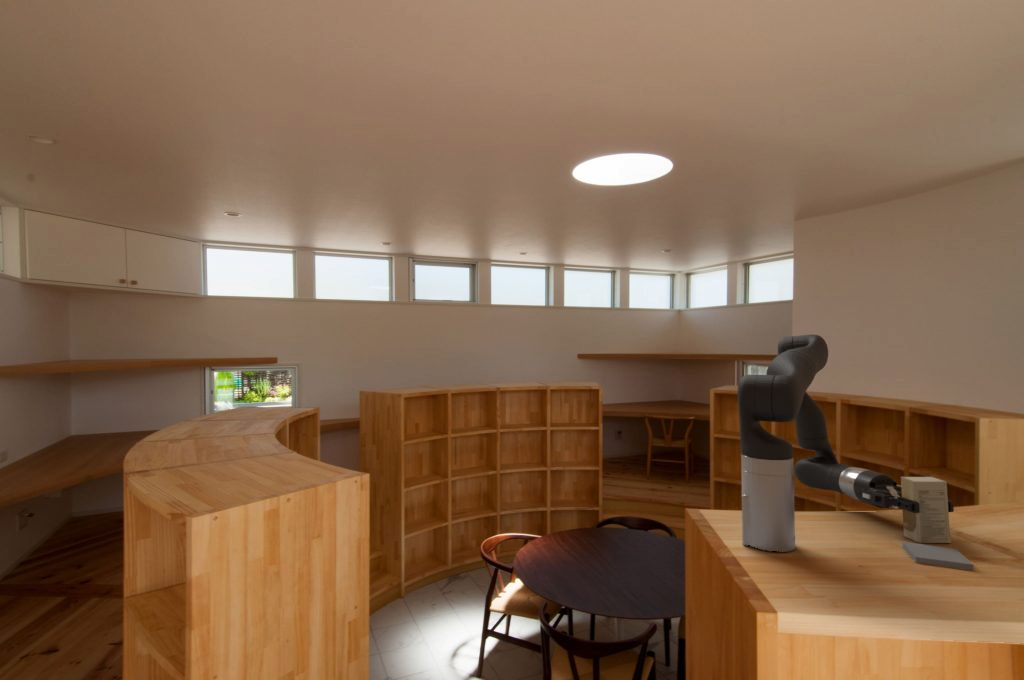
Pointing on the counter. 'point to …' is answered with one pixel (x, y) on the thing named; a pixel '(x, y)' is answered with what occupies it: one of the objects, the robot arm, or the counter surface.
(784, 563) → the counter surface
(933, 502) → the skincare box
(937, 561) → the grey square slab
